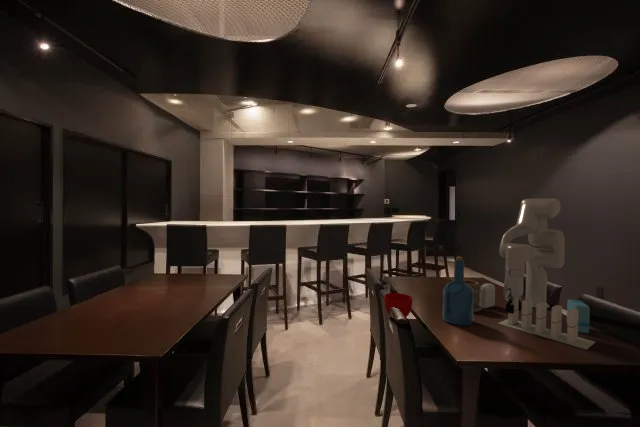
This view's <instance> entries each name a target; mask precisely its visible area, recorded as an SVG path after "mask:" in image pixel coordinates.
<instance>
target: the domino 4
mask: <svg viewBox="0 0 640 427" xmlns="http://www.w3.org/2000/svg"><path fill="white" fill-rule="evenodd" d="M562 314H563V305H559V304H556V305H554V306H552V307H551V315H550V316H551V317H550V318H551V320H550V329H551V337H555V338H556V337H558V336H560V335H561V333H562V323H563V322H562V320H563V319H562V316H563V315H562Z"/></svg>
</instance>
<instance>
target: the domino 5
mask: <svg viewBox="0 0 640 427" xmlns="http://www.w3.org/2000/svg"><path fill="white" fill-rule="evenodd" d="M578 311H579V310H577V309H571V310H569V311H568V325H567V328H566V329H567V330H566V331H567V333H566V334H567V341H569V342H572V343H573V342H574V341H576V340H577V337H579V335H578V334H579V332H578Z"/></svg>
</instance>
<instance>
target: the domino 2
mask: <svg viewBox="0 0 640 427" xmlns="http://www.w3.org/2000/svg"><path fill="white" fill-rule="evenodd" d="M525 299H526V298H525ZM525 299H524V300H522V301H521V320H520V321H521V328H524V329H527V328H529V327H531V324H532V323H533V322H532V320H533V318H532V317H533V307H532V300H531V299H526V300H525ZM532 325H533V324H532Z"/></svg>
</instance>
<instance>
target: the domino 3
mask: <svg viewBox="0 0 640 427" xmlns="http://www.w3.org/2000/svg"><path fill="white" fill-rule="evenodd" d="M547 304H548V303H547V302H546V303H545V302H540V303H538V304H536V308H535V311H536V312H535V325H536V332H537V333H542V332H544V331H545V330H546V328H547V309H548V308H547Z"/></svg>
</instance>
